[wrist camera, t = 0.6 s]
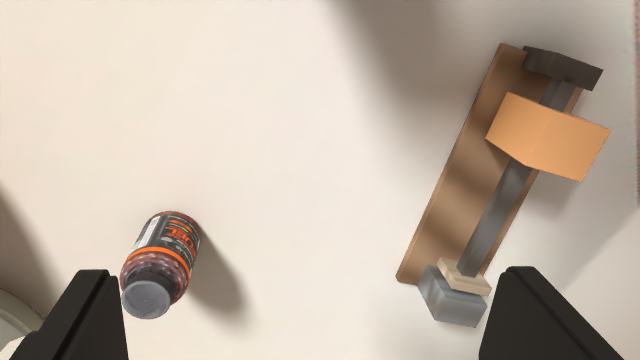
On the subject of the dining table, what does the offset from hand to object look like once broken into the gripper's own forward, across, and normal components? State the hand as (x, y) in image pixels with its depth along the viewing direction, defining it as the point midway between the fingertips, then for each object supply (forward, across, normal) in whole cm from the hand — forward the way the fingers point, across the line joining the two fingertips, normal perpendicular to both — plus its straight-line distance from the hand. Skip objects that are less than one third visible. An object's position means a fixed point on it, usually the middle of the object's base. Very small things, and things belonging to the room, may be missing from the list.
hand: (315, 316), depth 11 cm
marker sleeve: (+32, -25, +3) cm, 41 cm away
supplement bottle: (+34, +11, +17) cm, 40 cm away
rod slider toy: (+34, -23, +10) cm, 42 cm away
